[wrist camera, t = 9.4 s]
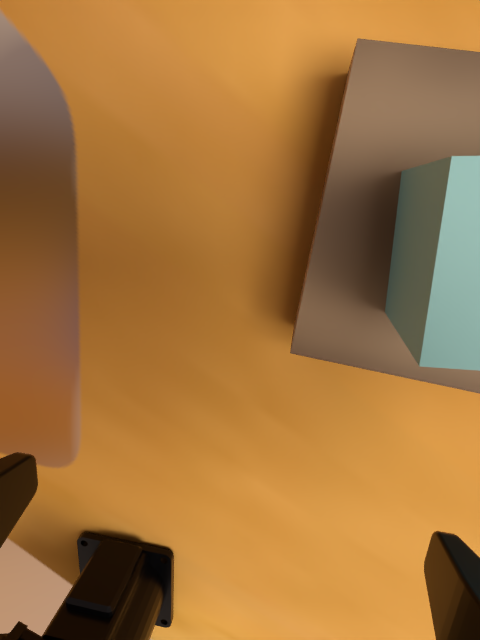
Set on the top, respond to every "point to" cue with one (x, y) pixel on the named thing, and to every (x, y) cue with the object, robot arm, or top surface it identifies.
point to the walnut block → (381, 200)
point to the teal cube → (438, 263)
